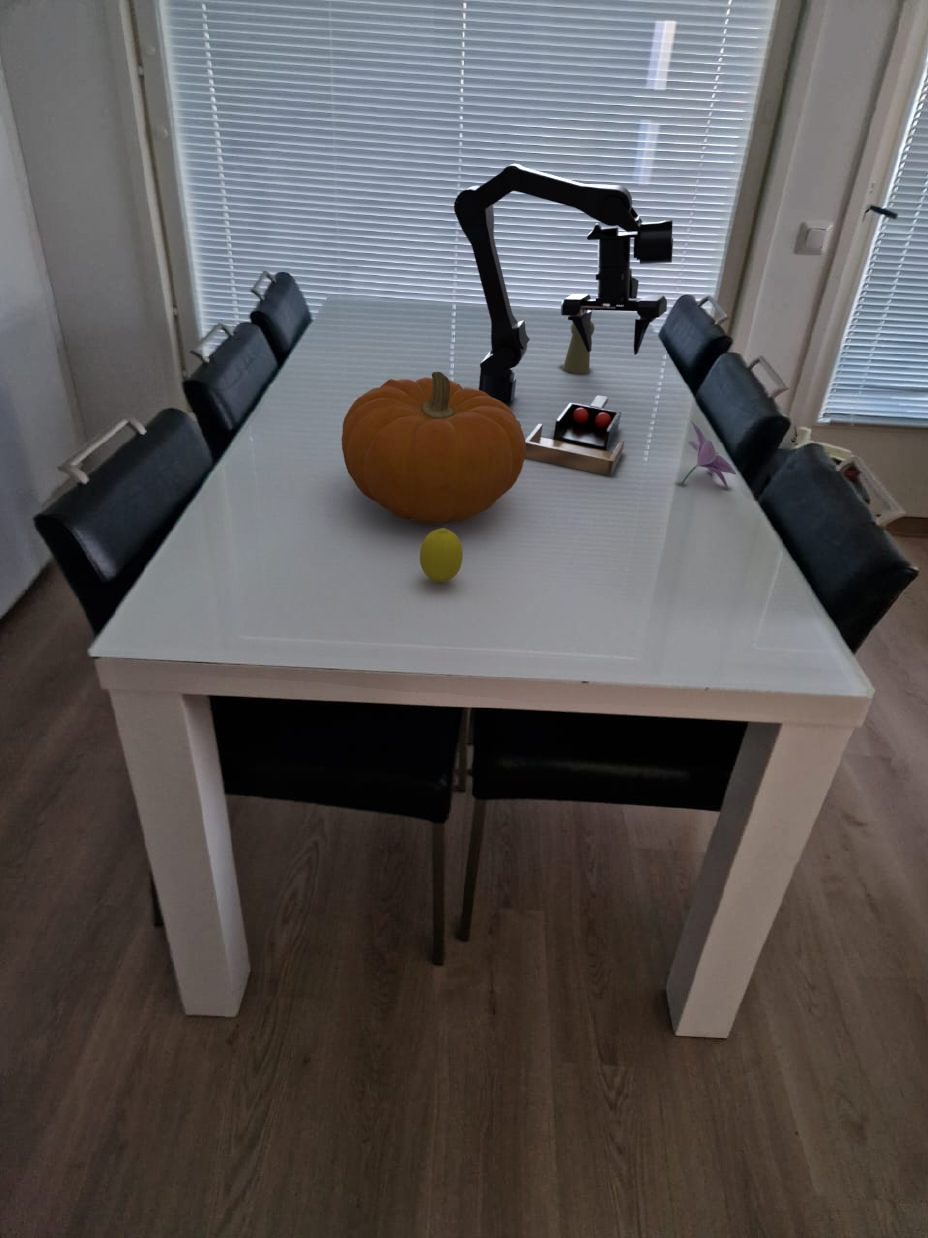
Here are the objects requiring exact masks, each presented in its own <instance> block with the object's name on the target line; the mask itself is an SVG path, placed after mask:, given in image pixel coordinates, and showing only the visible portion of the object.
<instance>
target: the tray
mask: <svg viewBox="0 0 928 1238" xmlns="http://www.w3.org/2000/svg"><path fill="white" fill-rule="evenodd" d="M543 427H544V426H543V423H538V424H537V425H536V426H535V427H534V429H533V430H532V431H531V432H530V434H529V435H528V436H527V437H526V438H525V442H526V456H525V459H529V460H533V461H538V462H542V463H548V464H552V465H556V466H557V465H558V466H561V467H566V468H571V469H575V470H579V471H583V472H584V471H585V472H587V473H588V472H589V473H593V474H598V475H603V476H607V477H611V476H612V475H613V473H614V471H615V469H616V467H617V465H618V463H619V461H620V459H621V457H622V455H623V450H624V446H625V441H624V440H619V442H618V443H617V445H616V447H615V449H614V450H613V451H608V450H605V449H600V448H595V447H590V446H586V445H581V444H576V443H571V442H567V441H562V440H557V439H553V438H547V437H542V432H543Z"/></svg>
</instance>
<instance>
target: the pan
mask: <svg viewBox="0 0 928 1238" xmlns="http://www.w3.org/2000/svg"><path fill="white" fill-rule="evenodd" d="M608 400H609V396H605V395H604V396H603V395H596V397H595V398H594V399H593V401H592V402H591V403H590V405H586V404H581V403H575V402H569V403H568V405H567V406H566V407H565V408H564V410H563V411H562V412H561V413H560V414H559V416H558V417H557V418H556V420H555V424H554V425H555V426H554V432H553V440H558V441H562V442H567V443H572V444H577V445H581V446H586V447H591V448H596V449H600V450H607V449H608V447H609V446H610V444H611V442H612V441H613V439H614V437H615V435H616V433H617V432H618V430H619V424H620V420H621V414H622V412H620V411H615V410H611V409H606V408H605V407H606V405H607V404H608ZM578 408H584V409H585V410H587V412H588V420H587V421H586V422H585V423H583V424H577V423H576V422H575V421H574V420H573V413H574V411H575V410H576V409H578ZM602 412H604V413H607V414H609V416H610V417H611V423H610V425H609V426H608V427H607V428H604V429H601V428H599V427H597V425H596V424H595V418H596V416H597V415H598V414H599V413H602Z"/></svg>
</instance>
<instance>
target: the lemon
mask: <svg viewBox="0 0 928 1238" xmlns="http://www.w3.org/2000/svg"><path fill="white" fill-rule="evenodd" d="M419 552H420V553H419V564H420V568H421V570H422V572H423V573H424V574H425V576H426V577H427V578H428V579H430V580H432V581H435V582H436V583H438V584H441V583H443V582H448V581H450V580H452V579H453V578H454V577H455V576H457V574H458V573H459V572H460V570H461V567H462V564H463V558H464V553H463V546H462V543H461V539H460V538H459V537H458V536H457V534H456V533H454V532H453V531H452V530H449V529H447V528H445V527H441V528H437V529H435V530H434V529H433V530H432V531H430V532H429V533H428V534H426V536H425V537H424V539H423V541H422V543H421V546H420V551H419Z"/></svg>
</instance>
